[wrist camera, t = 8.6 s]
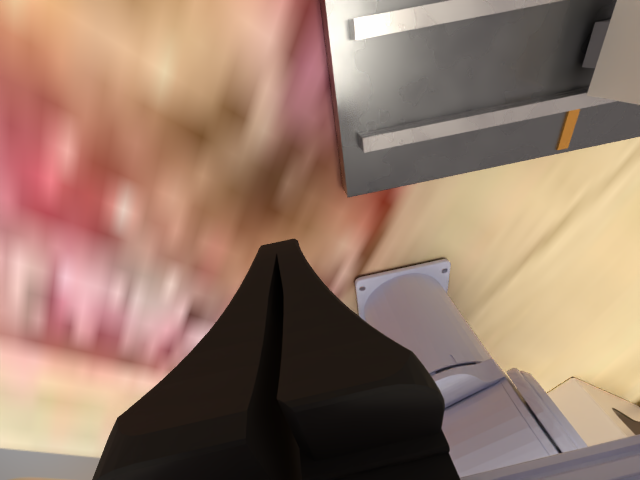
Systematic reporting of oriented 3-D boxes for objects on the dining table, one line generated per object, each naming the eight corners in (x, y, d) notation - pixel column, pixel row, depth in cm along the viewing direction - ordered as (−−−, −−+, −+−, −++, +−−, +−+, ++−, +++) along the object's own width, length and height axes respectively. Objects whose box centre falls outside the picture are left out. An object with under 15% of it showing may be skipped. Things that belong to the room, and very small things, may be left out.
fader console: (679, 117, 21) (724, 126, 19) (342, 187, 20) (351, 204, 18) (811, -147, 14) (904, -179, 12) (312, -57, 14) (321, -74, 11)
